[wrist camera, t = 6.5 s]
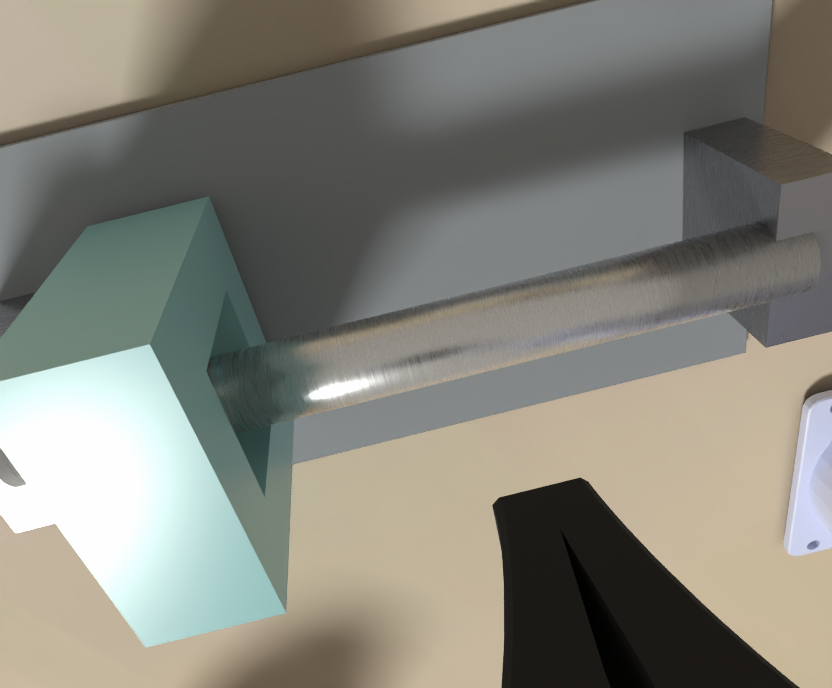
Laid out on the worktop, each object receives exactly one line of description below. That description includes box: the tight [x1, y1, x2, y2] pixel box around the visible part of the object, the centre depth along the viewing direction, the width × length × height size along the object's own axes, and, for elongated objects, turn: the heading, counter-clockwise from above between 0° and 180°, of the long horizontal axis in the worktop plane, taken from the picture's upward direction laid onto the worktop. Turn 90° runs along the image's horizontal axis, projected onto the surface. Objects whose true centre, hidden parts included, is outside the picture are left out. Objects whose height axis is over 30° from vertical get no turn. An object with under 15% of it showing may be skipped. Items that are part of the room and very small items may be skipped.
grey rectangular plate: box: [0, 0, 772, 464], centre depth 18 cm, size 21×11×1 cm, turn 102°
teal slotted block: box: [0, 196, 294, 647], centre depth 15 cm, size 3×7×7 cm, turn 12°
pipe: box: [0, 117, 832, 533], centre depth 16 cm, size 20×4×5 cm, turn 102°
